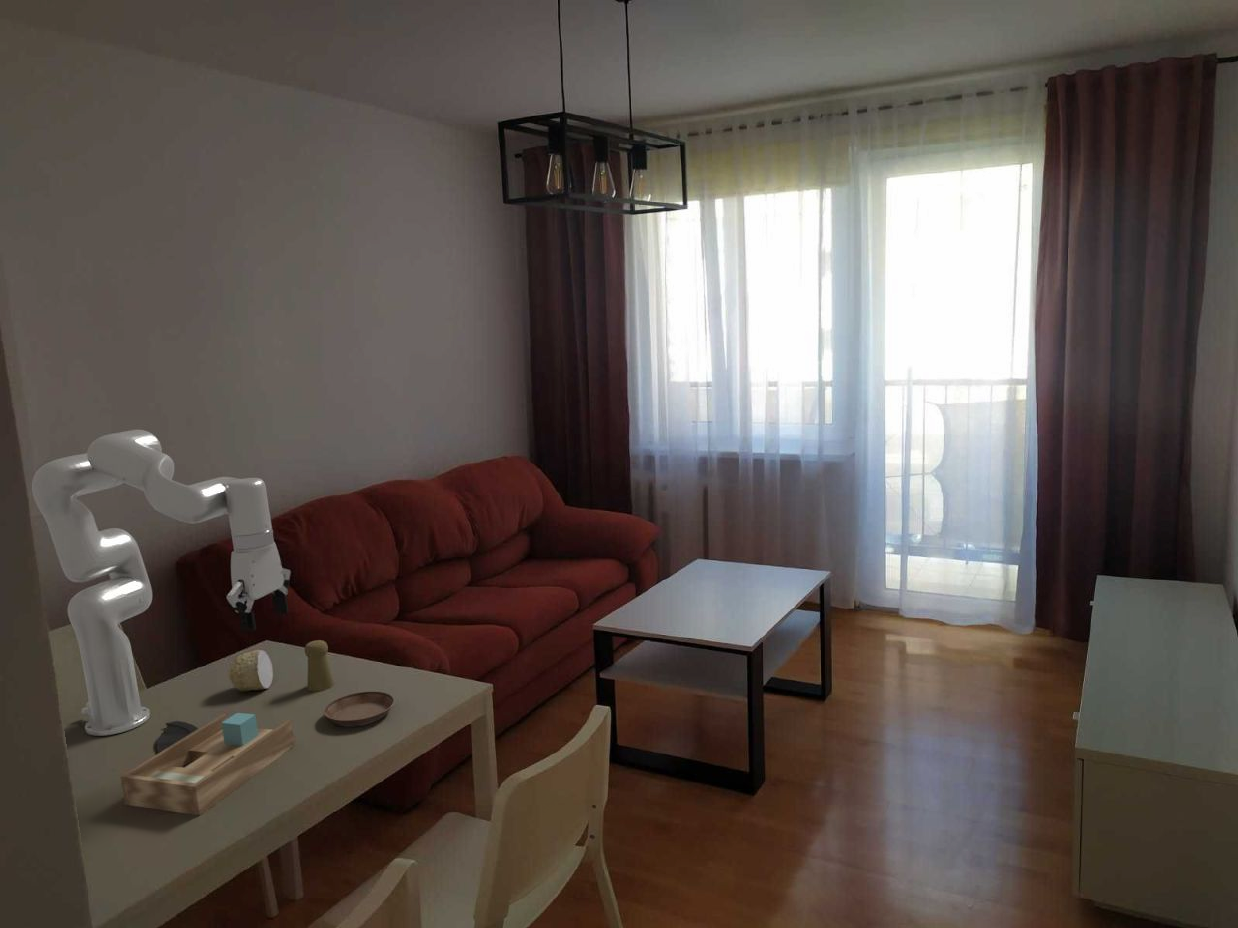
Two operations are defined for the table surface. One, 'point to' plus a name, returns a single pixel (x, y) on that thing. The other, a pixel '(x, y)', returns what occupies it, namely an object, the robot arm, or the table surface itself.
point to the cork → (318, 666)
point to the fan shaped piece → (174, 734)
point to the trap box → (202, 768)
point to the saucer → (359, 708)
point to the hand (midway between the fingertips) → (265, 621)
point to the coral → (251, 671)
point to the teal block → (240, 729)
